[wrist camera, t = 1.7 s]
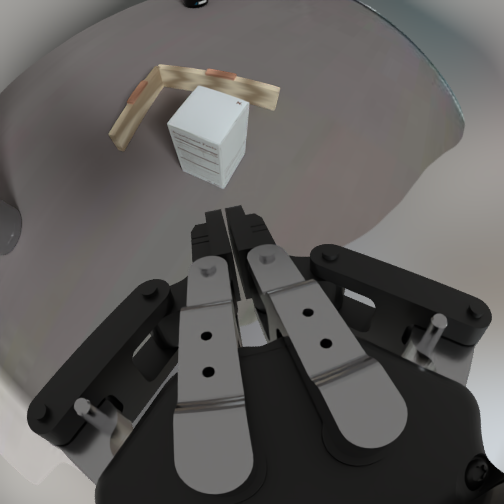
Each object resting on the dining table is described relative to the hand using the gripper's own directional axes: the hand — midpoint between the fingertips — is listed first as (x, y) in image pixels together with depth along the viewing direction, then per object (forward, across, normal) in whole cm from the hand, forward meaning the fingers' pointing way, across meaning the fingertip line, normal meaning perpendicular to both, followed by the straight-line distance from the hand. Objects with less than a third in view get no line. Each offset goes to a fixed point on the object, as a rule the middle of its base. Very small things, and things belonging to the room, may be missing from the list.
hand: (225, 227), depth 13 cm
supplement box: (+31, -1, +6) cm, 32 cm away
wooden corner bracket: (+37, 0, 0) cm, 37 cm away
